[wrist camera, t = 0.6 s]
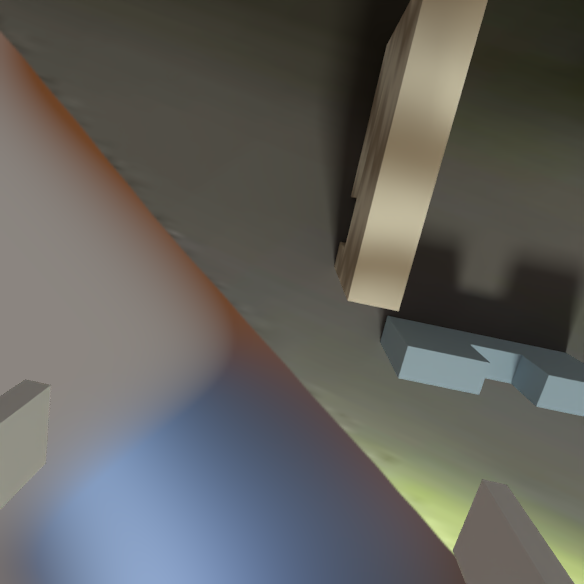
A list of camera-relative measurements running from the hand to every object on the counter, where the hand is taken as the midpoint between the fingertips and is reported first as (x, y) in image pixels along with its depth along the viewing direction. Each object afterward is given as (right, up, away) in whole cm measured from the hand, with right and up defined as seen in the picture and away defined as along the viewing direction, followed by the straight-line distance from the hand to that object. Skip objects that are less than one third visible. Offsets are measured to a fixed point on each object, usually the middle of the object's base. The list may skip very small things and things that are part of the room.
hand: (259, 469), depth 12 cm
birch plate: (+8, +15, +19) cm, 26 cm away
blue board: (+17, 0, +23) cm, 28 cm away
